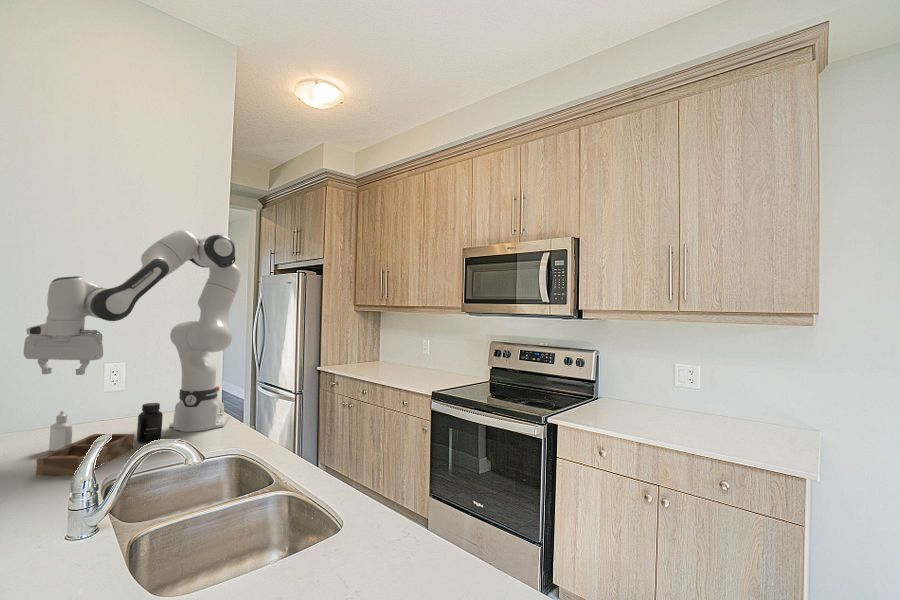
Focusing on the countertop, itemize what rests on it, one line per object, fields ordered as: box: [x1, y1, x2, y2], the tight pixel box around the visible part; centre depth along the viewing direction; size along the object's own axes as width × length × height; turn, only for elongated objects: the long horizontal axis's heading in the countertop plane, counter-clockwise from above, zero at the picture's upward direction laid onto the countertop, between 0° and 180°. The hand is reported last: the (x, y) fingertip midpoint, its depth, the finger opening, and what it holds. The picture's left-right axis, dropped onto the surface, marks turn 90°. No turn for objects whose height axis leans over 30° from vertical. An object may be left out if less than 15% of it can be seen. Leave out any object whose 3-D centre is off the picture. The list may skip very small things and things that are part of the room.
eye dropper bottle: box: [48, 410, 73, 452], centre depth 133 cm, size 4×6×12 cm
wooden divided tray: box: [35, 433, 135, 476], centre depth 125 cm, size 22×12×5 cm, turn 7°
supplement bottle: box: [136, 402, 164, 444], centre depth 145 cm, size 7×7×12 cm
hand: (63, 374), depth 133 cm, fingers open, 8 cm apart
